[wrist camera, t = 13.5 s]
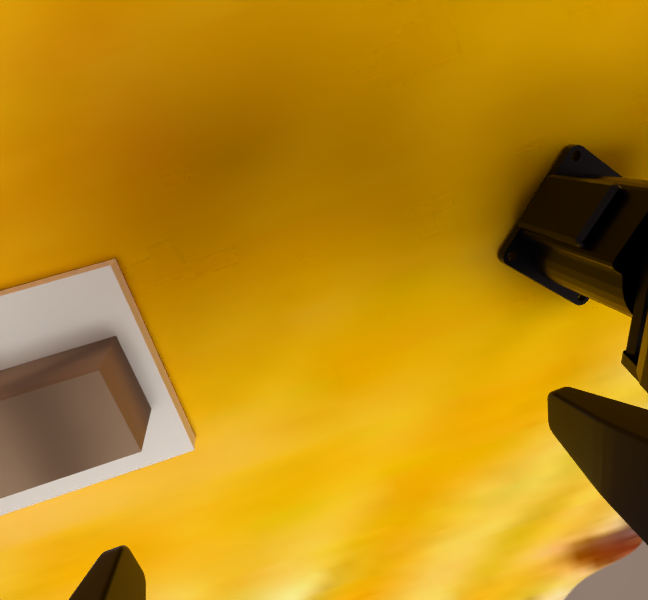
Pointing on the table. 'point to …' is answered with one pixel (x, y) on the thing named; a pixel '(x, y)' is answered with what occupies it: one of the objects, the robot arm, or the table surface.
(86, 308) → the ridge base plate
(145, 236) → the table surface
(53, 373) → the walnut ridge
